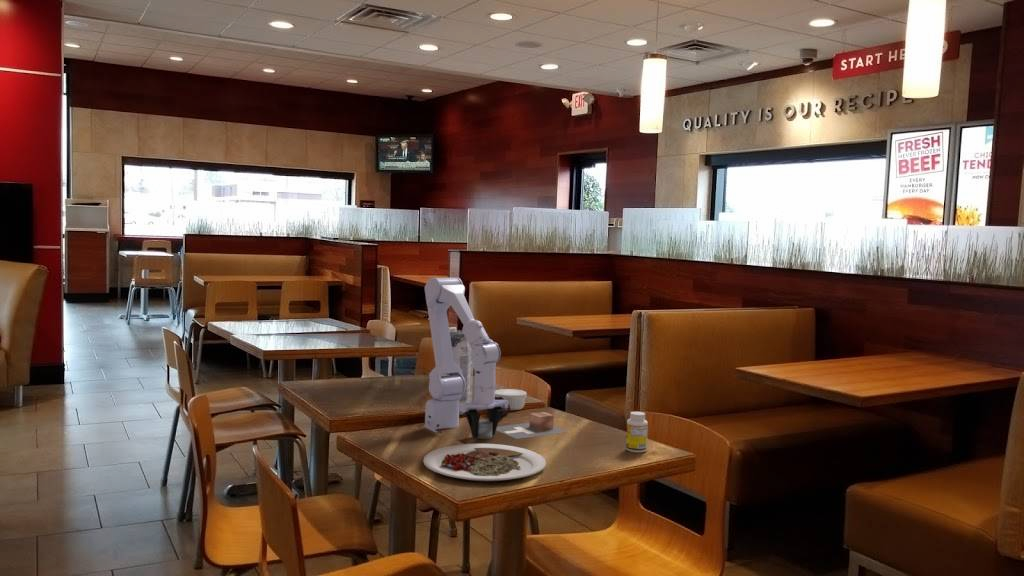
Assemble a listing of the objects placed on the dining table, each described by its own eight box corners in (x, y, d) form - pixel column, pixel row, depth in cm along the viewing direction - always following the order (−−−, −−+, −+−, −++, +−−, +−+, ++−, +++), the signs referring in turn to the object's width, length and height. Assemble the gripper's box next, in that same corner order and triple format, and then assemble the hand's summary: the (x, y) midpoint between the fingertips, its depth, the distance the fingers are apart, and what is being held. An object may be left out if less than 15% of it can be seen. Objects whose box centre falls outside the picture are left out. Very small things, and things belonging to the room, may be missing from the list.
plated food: (569, 476, 188) (570, 463, 187) (455, 493, 173) (456, 478, 172) (507, 445, 213) (508, 433, 213) (404, 458, 199) (404, 445, 198)
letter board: (516, 442, 216) (516, 438, 216) (489, 430, 228) (489, 427, 228) (568, 435, 226) (568, 431, 226) (540, 424, 237) (540, 421, 237)
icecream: (519, 402, 238) (504, 396, 252) (496, 397, 236) (483, 391, 250) (513, 424, 237) (499, 417, 252) (491, 419, 235) (477, 412, 249)
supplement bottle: (628, 446, 216) (630, 409, 215) (648, 449, 213) (650, 412, 213) (623, 451, 210) (624, 413, 210) (643, 454, 208) (645, 416, 207)
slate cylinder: (479, 443, 214) (480, 425, 213) (470, 439, 218) (471, 421, 218) (495, 441, 216) (496, 423, 216) (486, 437, 221) (486, 419, 220)
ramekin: (487, 405, 263) (487, 389, 262) (517, 403, 267) (518, 388, 267) (499, 412, 252) (500, 396, 252) (531, 410, 257) (532, 394, 256)
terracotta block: (539, 430, 226) (539, 417, 225) (529, 426, 230) (529, 413, 230) (553, 429, 228) (553, 415, 228) (543, 425, 232) (543, 411, 232)
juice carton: (473, 409, 255) (476, 326, 253) (463, 416, 245) (466, 330, 243) (447, 407, 257) (450, 325, 255) (437, 413, 247) (439, 328, 245)
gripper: (469, 391, 209) (467, 441, 210) (514, 387, 217) (513, 435, 218) (456, 386, 215) (454, 435, 216) (501, 382, 223) (499, 429, 224)
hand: (483, 435), depth 217 cm, fingers closed on slate cylinder, 5 cm apart
